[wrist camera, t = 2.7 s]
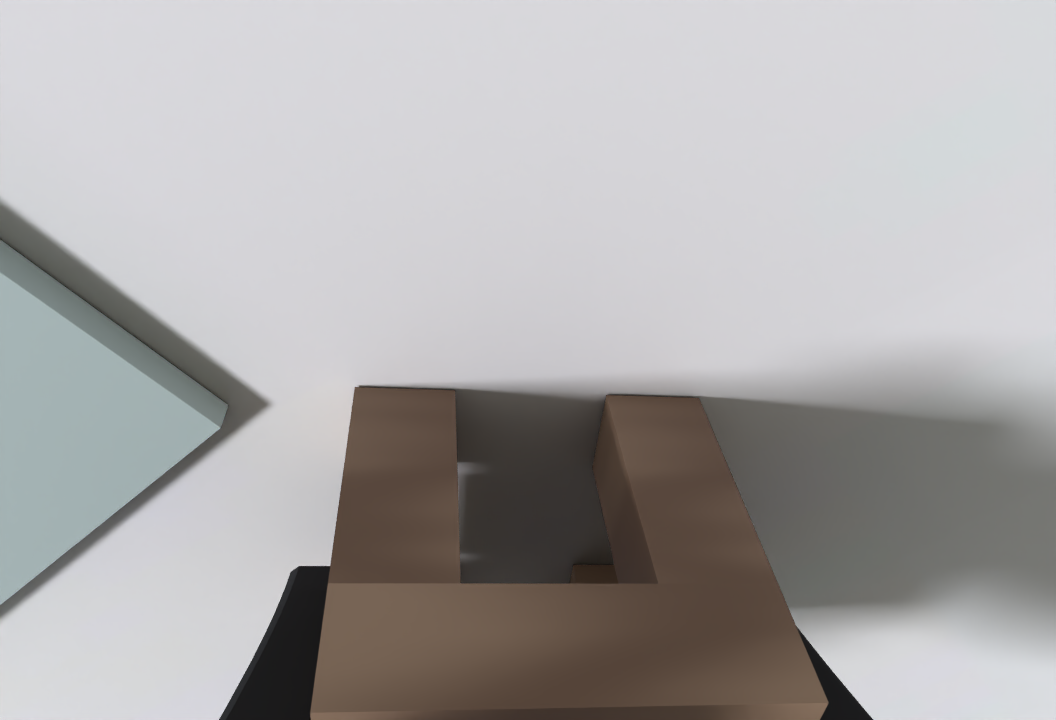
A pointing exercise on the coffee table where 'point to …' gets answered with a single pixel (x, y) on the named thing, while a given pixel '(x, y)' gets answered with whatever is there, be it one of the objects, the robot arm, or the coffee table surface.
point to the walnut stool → (554, 586)
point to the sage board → (79, 419)
